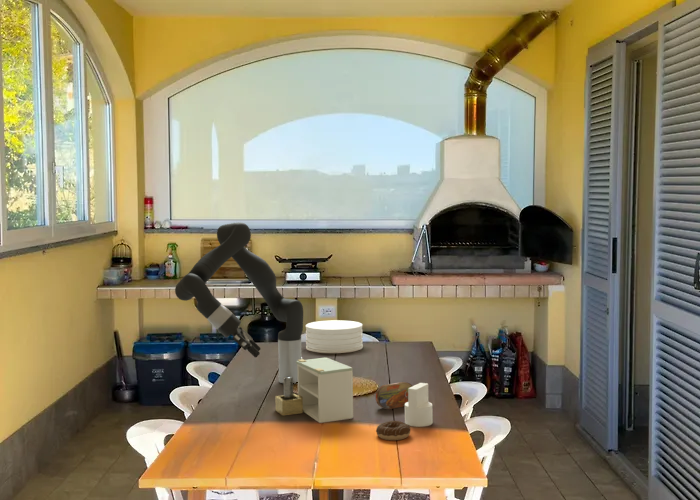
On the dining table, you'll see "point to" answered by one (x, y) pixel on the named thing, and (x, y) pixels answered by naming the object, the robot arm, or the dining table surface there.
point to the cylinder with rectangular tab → (418, 406)
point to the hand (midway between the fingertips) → (258, 353)
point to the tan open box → (289, 405)
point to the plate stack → (334, 336)
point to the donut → (393, 430)
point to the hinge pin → (288, 387)
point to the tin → (393, 395)
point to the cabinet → (325, 389)
